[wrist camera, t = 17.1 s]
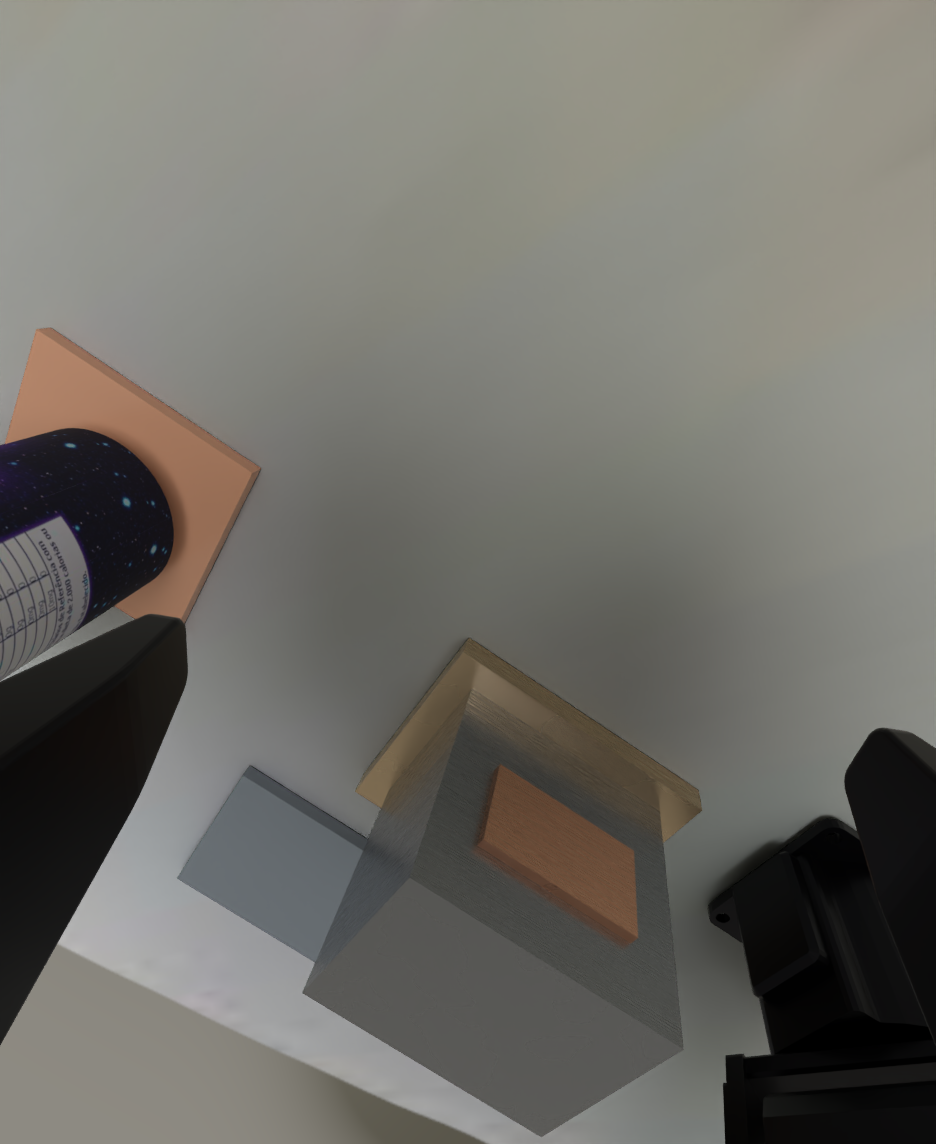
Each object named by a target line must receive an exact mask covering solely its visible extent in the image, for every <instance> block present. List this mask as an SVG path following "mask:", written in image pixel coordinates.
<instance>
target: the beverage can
mask: <svg viewBox="0 0 936 1144" xmlns="http://www.w3.org/2000/svg"><path fill="white" fill-rule="evenodd" d="M173 541H174V528H173V520H172V515H171V511H170V508H169V505H168V502H167V499H166V497H165V495H164V493H163V491H162V489H161V487H160V485H159V483H158V482H157V480H156V479H155V477H154V476H153V474H152V473H151V472H150V470H149V469H148V468H147V467H146V466H145V465H144V463H143V462H142V461H141V460H140V459H139V458H138V457H137V456H136V455H134V454H133V453H132V452H131V451H130V450H128V449H127V448H126V447H124V446H123V445H121V444H120V443H118V442H117V441H115V440H113V439H111V438H109V437H107V436H105V435H103V434H100V433H98V432H94V431H91V430H87V429H80V428H65V429H59V430H55V431H51V432H47V433H44V434H40V435H36V436H33V437H29V438H25V439H22V440H18V441H14V442H11V443H7V444H3V445H0V681H1V680H2V679H4V678H5V677H7V676H8V675H10V674H11V673H13V672H14V671H16V670H17V669H19V668H21V667H22V666H24V665H25V664H27V663H28V662H30V661H31V660H33V659H34V658H36V657H37V656H39V655H40V654H42V653H43V652H45V651H46V650H48V649H49V648H51V647H52V646H54V645H55V644H57V643H58V642H60V641H62V640H63V639H65V638H66V637H68V636H69V635H71V634H72V633H74V632H75V631H77V630H78V629H80V628H81V627H83V626H84V625H86V624H87V623H89V622H90V621H92V620H93V619H95V618H96V617H98V616H99V615H101V614H102V613H104V612H106V611H107V610H109V609H110V608H112V607H113V606H115V605H116V604H118V603H119V602H121V601H122V600H124V599H125V598H127V597H128V596H130V595H131V594H133V593H134V592H136V591H137V590H139V589H140V588H142V587H143V586H145V585H147V584H148V583H150V582H151V581H152V580H154V579H155V578H156V577H157V576H158V575H159V574H160V573H161V572H162V571H163V569H164V568H165V566H166V565H167V563H168V561H169V558H170V555H171V552H172V548H173Z"/></svg>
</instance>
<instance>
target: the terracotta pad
mask: <svg viewBox="0 0 936 1144" xmlns="http://www.w3.org/2000/svg"><path fill="white" fill-rule="evenodd" d="M65 428H80V429H87V430H91V431H94V432H98V433H100V434H103V435H105V436H107V437H109V438H111V439H113V440H115V441H117V442H118V443H120V444H121V445H123V446H124V447H126V448H127V449H128V450H130V451H131V452H132V453H133V454H134V455H136V456H137V457H138V458H139V459H140V460H141V461H142V462H143V463H144V465H145V466H146V467H147V468H148V469H149V470H150V472H151V473H152V474H153V476H154V477H155V479H156V480H157V482H158V483H159V485H160V487H161V489H162V491H163V493H164V495H165V497H166V499H167V502H168V505H169V508H170V511H171V515H172V520H173V528H174V541H173V548H172V552H171V555H170V558H169V561H168V563H167V565H166V566H165V568H164V569H163V571H162V572H161V573H160V574H159V575H158V576H157V577H156V578H155V579H154V580H152V581H151V582H150V583H148V584H147V585H145V586H143V587H142V588H140V589H139V590H137V591H136V592H134V593H133V594H131V595H130V596H128V597H127V598H125V599H124V600H122V601H121V602H119V603H118V604H116V605H115V607H117V608H119V609H120V610H122V611H123V612H125V613H126V614H128V615H129V616H131V617H133V618H134V619H137V618H139V617H141V616H144V615H146V614H158V615H165V616H171V617H178V618H180V619H181V620H182V621H183V622H184V624H185V622H186V619H187V617H188V615H189V613H190V611H191V609H192V607H193V605H194V603H195V601H196V599H197V597H198V595H199V593H200V591H201V589H202V587H203V585H204V583H205V581H206V579H207V577H208V575H209V573H210V571H211V569H212V567H213V565H214V563H215V561H216V559H217V557H218V555H219V553H220V550H221V548H222V546H223V544H224V542H225V540H226V538H227V536H228V534H229V532H230V530H231V528H232V526H233V524H234V522H235V520H236V518H237V516H238V514H239V512H240V510H241V508H242V506H243V504H244V502H245V500H246V498H247V496H248V494H249V492H250V490H251V488H252V486H253V483H254V481H255V479H256V477H257V475H258V473H259V471H260V469H261V468H260V467H258V466H257V465H255V464H254V463H252V462H251V461H249V460H248V459H246V458H245V457H243V456H242V455H240V454H239V453H237V452H236V451H234V450H233V449H231V448H230V447H228V446H227V445H225V444H224V443H222V442H221V441H219V440H218V439H216V438H215V437H213V436H212V435H210V434H209V433H207V432H206V431H204V430H203V429H201V428H200V427H198V426H197V425H195V424H194V423H192V422H191V421H189V420H188V419H186V418H185V417H183V416H182V415H180V414H179V413H177V412H176V411H174V410H173V409H171V408H170V407H168V406H167V405H165V404H164V403H162V402H161V401H159V400H158V399H156V398H155V397H153V396H152V395H150V394H149V393H147V392H146V391H144V390H143V389H141V388H140V387H138V386H137V385H135V384H134V383H132V382H131V381H129V380H128V379H126V378H125V377H123V376H122V375H120V374H119V373H117V372H116V371H114V370H113V369H112V368H110V367H109V366H107V365H106V364H104V363H103V362H101V361H100V360H98V359H97V358H95V357H94V356H92V355H91V354H89V353H88V352H86V351H85V350H83V349H82V348H80V347H79V346H77V345H76V344H74V343H73V342H71V341H70V340H68V339H67V338H65V337H64V336H62V335H61V334H59V333H58V332H56V331H55V330H53V329H52V328H44V329H36V332H35V336H34V340H33V343H32V347H31V351H30V354H29V358H28V362H27V365H26V369H25V372H24V376H23V380H22V383H21V387H20V391H19V394H18V398H17V402H16V405H15V409H14V412H13V416H12V420H11V423H10V427H9V431H8V434H7V438H6V441H5V444H7V443H11V442H14V441H18V440H22V439H25V438H29V437H33V436H36V435H40V434H44V433H47V432H51V431H55V430H59V429H65Z"/></svg>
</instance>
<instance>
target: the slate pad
mask: <svg viewBox="0 0 936 1144" xmlns="http://www.w3.org/2000/svg"><path fill="white" fill-rule="evenodd" d="M366 842H367V839H366V838H364V837H363V836H361V835H359V834H358V833H356V832H355V831H353V830H351V829H350V828H348V827H347V826H345V825H344V824H342V823H340V822H339V821H337V820H336V819H334V818H332V817H331V816H329V815H328V814H326V813H324V812H323V811H321V810H320V809H318V808H316V807H315V806H313V805H312V804H310V803H309V802H307V801H305V800H304V799H302V798H301V797H299V796H297V795H296V794H294V793H293V792H291V791H289V790H288V789H286V788H285V787H283V786H282V785H280V784H278V783H277V782H275V781H274V780H272V779H270V778H269V777H267V776H266V775H264V774H262V773H261V772H259V771H258V770H256V769H254V768H253V767H251V766H249V768H248V769H247V770H246V772H245V773H244V775H243V776H242V778H241V779H240V781H239V782H238V784H237V785H236V787H235V788H234V790H233V792H232V793H231V795H230V796H229V798H228V799H227V801H226V803H225V804H224V806H223V807H222V809H221V810H220V812H219V813H218V815H217V817H216V818H215V820H214V821H213V823H212V824H211V826H210V827H209V829H208V831H207V832H206V834H205V835H204V837H203V838H202V840H201V842H200V843H199V845H198V846H197V848H196V849H195V851H194V852H193V854H192V856H191V857H190V859H189V860H188V862H187V863H186V865H185V867H184V868H183V870H182V871H181V873H180V874H179V876H178V877H177V879H179V880H180V881H182V882H184V883H185V884H187V885H189V886H190V887H192V888H194V889H195V890H197V891H199V892H200V893H202V894H203V895H205V896H207V897H208V898H210V899H212V900H213V901H215V902H217V903H218V904H220V905H222V906H223V907H225V908H226V909H228V910H230V911H231V912H233V913H235V914H236V915H238V916H240V917H241V918H243V919H245V920H246V921H248V922H249V923H251V924H253V925H254V926H256V927H258V928H259V929H261V930H263V931H264V932H266V933H268V934H269V935H271V936H272V937H274V938H276V939H277V940H279V941H281V942H282V943H284V944H286V945H287V946H289V947H291V948H292V949H294V950H296V951H297V952H299V953H300V954H302V955H304V956H305V957H307V958H309V959H310V960H312V961H314V962H316V960H317V957H318V955H319V952H320V950H321V948H322V945H323V943H324V941H325V938H326V936H327V934H328V931H329V929H330V927H331V924H332V922H333V920H334V917H335V915H336V913H337V910H338V908H339V906H340V903H341V901H342V899H343V896H344V894H345V892H346V889H347V887H348V885H349V882H350V880H351V878H352V875H353V873H354V870H355V868H356V866H357V863H358V861H359V859H360V856H361V854H362V852H363V849H364V847H365V845H366Z"/></svg>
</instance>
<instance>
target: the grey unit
mask: <svg viewBox="0 0 936 1144" xmlns="http://www.w3.org/2000/svg"><path fill="white" fill-rule="evenodd" d="M355 792H357V793H358V794H360V795H361V796H363V797H365V798H366V799H368V800H369V801H371V802H372V803H374V804H376V805H377V806H379V807H380V808H381V810H380V812H379V814H378V817H377V819H376V821H375V824H374V826H373V828H372V831H371V833H370V835H369V838H368V840H367V842H366V845H365V847H364V849H363V852H362V854H361V856H360V859H359V861H358V863H357V866H356V868H355V870H354V873H353V875H352V878H351V880H350V882H349V885H348V887H347V889H346V892H345V894H344V896H343V899H342V901H341V903H340V906H339V908H338V910H337V913H336V915H335V917H334V920H333V922H332V924H331V927H330V929H329V931H328V934H327V936H326V938H325V941H324V943H323V945H322V948H321V950H320V952H319V955H318V957H317V960H316V962H315V964H314V967H313V969H312V971H311V974H310V976H309V978H308V981H307V983H306V985H305V988H304V990H303V992H302V993H303V994H305V995H307V996H308V997H310V998H312V999H313V1000H315V1001H317V1002H318V1003H320V1004H321V1005H323V1006H325V1007H326V1008H328V1009H330V1010H331V1011H333V1012H335V1013H336V1014H338V1015H340V1016H341V1017H343V1018H345V1019H346V1020H348V1021H350V1022H351V1023H353V1024H355V1025H356V1026H358V1027H360V1028H361V1029H363V1030H365V1031H366V1032H368V1033H370V1034H371V1035H373V1036H375V1037H376V1038H378V1039H380V1040H381V1041H383V1042H384V1043H386V1044H388V1045H389V1046H391V1047H393V1048H394V1049H396V1050H398V1051H399V1052H401V1053H403V1054H404V1055H406V1056H408V1057H409V1058H411V1059H413V1060H414V1061H416V1062H418V1063H419V1064H421V1065H423V1066H424V1067H426V1068H428V1069H429V1070H431V1071H433V1072H434V1073H436V1074H438V1075H439V1076H441V1077H443V1078H444V1079H446V1080H447V1081H449V1082H451V1083H452V1084H454V1085H456V1086H457V1087H459V1088H461V1089H462V1090H464V1091H466V1092H467V1093H469V1094H471V1095H472V1096H474V1097H476V1098H477V1099H479V1100H481V1101H482V1102H484V1103H486V1104H487V1105H489V1106H491V1107H492V1108H494V1109H496V1110H497V1111H499V1112H501V1113H502V1114H504V1115H505V1116H507V1117H509V1118H510V1119H512V1120H514V1121H515V1122H517V1123H519V1124H520V1125H522V1126H524V1127H525V1128H527V1129H529V1130H530V1131H532V1132H534V1133H535V1134H537V1135H539V1136H540V1137H542V1136H544V1135H545V1134H547V1133H549V1132H550V1131H552V1130H553V1129H555V1128H557V1127H558V1126H560V1125H562V1124H563V1123H565V1122H566V1121H568V1120H570V1119H571V1118H573V1117H575V1116H576V1115H578V1114H579V1113H581V1112H583V1111H584V1110H586V1109H588V1108H589V1107H591V1106H592V1105H594V1104H596V1103H597V1102H599V1101H600V1100H602V1099H604V1098H605V1097H607V1096H609V1095H610V1094H612V1093H613V1092H615V1091H617V1090H618V1089H620V1088H622V1087H623V1086H625V1085H626V1084H628V1083H630V1082H631V1081H633V1080H635V1079H636V1078H638V1077H639V1076H641V1075H643V1074H644V1073H646V1072H647V1071H649V1070H651V1069H652V1068H654V1067H656V1066H657V1065H659V1064H660V1063H662V1062H664V1061H665V1060H667V1059H669V1058H670V1057H672V1056H673V1055H675V1054H677V1053H678V1052H680V1051H682V1050H683V1040H682V1030H681V1020H680V1010H679V1000H678V990H677V979H676V969H675V959H674V949H673V939H672V929H671V918H670V908H669V898H668V888H667V878H666V868H665V857H664V847H663V843H664V842H665V841H666V840H667V839H669V838H670V837H671V836H672V835H673V834H674V833H676V832H677V831H678V830H679V829H680V828H682V827H683V826H684V825H685V824H686V823H688V822H689V821H690V820H691V819H692V818H694V817H695V816H696V815H697V814H698V813H700V812H701V811H702V807H701V801H700V795H699V790H697V789H696V788H694V787H693V786H691V785H690V784H688V783H687V782H685V781H684V780H682V779H681V778H679V777H678V776H676V775H675V774H673V773H672V772H670V771H669V770H667V769H666V768H664V767H663V766H661V765H660V764H658V763H657V762H655V761H654V760H652V759H651V758H649V757H648V756H646V755H645V754H643V753H642V752H640V751H639V750H637V749H636V748H634V747H633V746H631V745H630V744H628V743H627V742H625V741H624V740H622V739H621V738H619V737H618V736H616V735H615V734H613V733H612V732H610V731H609V730H607V729H606V728H604V727H603V726H601V725H600V724H598V723H597V722H595V721H594V720H592V719H591V718H589V717H588V716H586V715H584V714H583V713H581V712H580V711H578V710H577V709H575V708H574V707H572V706H571V705H569V704H568V703H566V702H565V701H563V700H562V699H560V698H559V697H557V696H556V695H554V694H553V693H551V692H550V691H548V690H547V689H545V688H544V687H542V686H541V685H539V684H538V683H536V682H535V681H533V680H532V679H530V678H529V677H527V676H526V675H524V674H523V673H521V672H520V671H518V670H517V669H515V668H514V667H512V666H511V665H509V664H508V663H506V662H505V661H503V660H502V659H500V658H499V657H497V656H496V655H494V654H493V653H491V652H490V651H488V650H487V649H485V648H484V647H482V646H481V645H479V644H478V643H476V642H475V641H473V640H472V639H470V638H468V640H467V641H466V642H465V643H464V645H463V646H462V647H461V649H460V650H459V651H458V652H457V654H456V655H455V656H454V658H453V659H452V660H451V662H450V663H449V664H448V665H447V667H446V668H445V669H444V671H443V672H442V673H441V674H440V676H439V677H438V678H437V680H436V681H435V682H434V684H433V685H432V686H431V687H430V689H429V690H428V691H427V693H426V694H425V695H424V696H423V698H422V699H421V700H420V702H419V703H418V704H417V706H416V707H415V708H414V709H413V711H412V712H411V713H410V715H409V716H408V717H407V718H406V720H405V721H404V722H403V724H402V725H401V726H400V728H399V729H398V730H397V731H396V733H395V734H394V735H393V737H392V738H391V739H390V740H389V742H388V743H387V744H386V746H385V747H384V748H383V750H382V751H381V752H380V753H379V755H378V756H377V757H376V759H375V760H374V761H373V762H372V764H371V765H370V766H369V768H368V769H367V770H366V772H365V773H364V774H363V776H362V778H361V780H360V782H359V784H358V786H357V788H356V790H355Z"/></svg>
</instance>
